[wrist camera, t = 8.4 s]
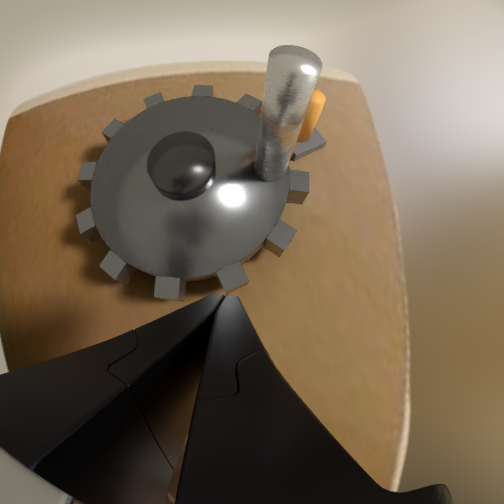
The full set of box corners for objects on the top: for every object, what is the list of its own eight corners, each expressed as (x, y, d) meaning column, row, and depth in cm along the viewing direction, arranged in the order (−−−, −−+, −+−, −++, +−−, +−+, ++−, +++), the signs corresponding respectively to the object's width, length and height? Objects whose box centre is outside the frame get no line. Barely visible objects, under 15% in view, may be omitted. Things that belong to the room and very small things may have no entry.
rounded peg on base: (294, 160, 21) (309, 118, 16) (272, 133, 21) (282, 88, 16) (323, 146, 21) (344, 106, 16) (302, 121, 22) (316, 77, 17)
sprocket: (341, 238, 18) (439, 160, 8) (128, 338, 16) (14, 355, 6) (243, 81, 21) (250, -25, 11) (74, 152, 19) (7, 69, 8)
